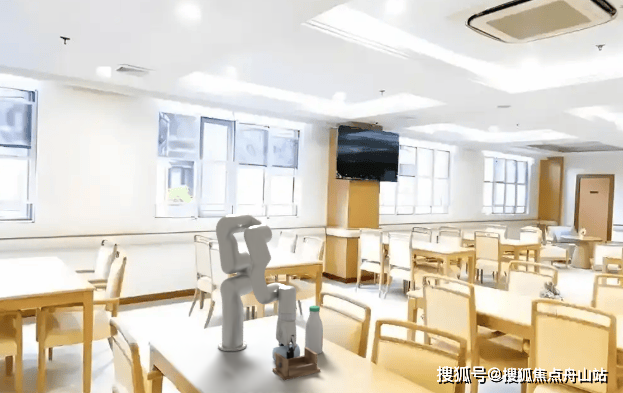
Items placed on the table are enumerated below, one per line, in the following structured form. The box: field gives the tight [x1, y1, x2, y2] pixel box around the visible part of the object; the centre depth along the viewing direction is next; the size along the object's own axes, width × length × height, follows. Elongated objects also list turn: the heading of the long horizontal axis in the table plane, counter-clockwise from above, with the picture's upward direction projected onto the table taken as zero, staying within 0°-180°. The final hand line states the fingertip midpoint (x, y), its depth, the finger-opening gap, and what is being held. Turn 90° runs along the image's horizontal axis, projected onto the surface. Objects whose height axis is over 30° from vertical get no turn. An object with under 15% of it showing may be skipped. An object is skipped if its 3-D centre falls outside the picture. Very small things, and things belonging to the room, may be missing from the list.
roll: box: [272, 343, 301, 363], centre depth 183 cm, size 10×6×6 cm, turn 122°
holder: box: [272, 346, 321, 381], centre depth 172 cm, size 10×16×7 cm, turn 122°
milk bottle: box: [304, 305, 324, 355], centre depth 193 cm, size 8×8×20 cm
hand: (286, 357), depth 183 cm, fingers closed on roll, 6 cm apart
